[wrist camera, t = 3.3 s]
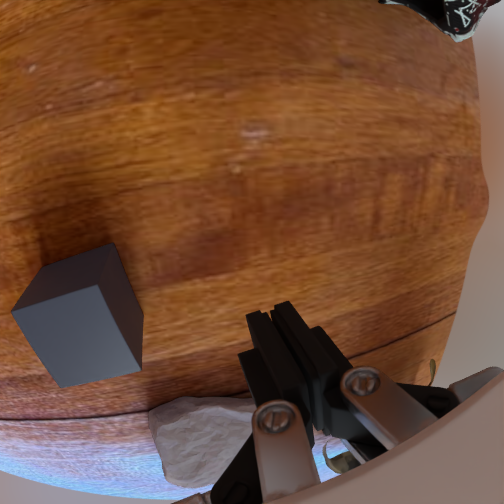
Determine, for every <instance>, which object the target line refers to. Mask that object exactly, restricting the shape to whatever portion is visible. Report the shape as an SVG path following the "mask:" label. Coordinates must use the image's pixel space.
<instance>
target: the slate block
mask: <svg viewBox="0 0 504 504" xmlns="http://www.w3.org/2000/svg"><path fill="white" fill-rule="evenodd" d="M11 313H12V315H13V317H14V319H15V320H16V322H17V324H18V325H19V327H20V329H21V331H22V332H23V334H24V336H25V337H26V339H27V340H28V342H29V344H30V345H31V347H32V348H33V350H34V351H35V353H36V354H37V356H38V357H39V359H40V360H41V362H42V363H43V365H44V366H45V368H46V369H47V370H48V372H49V373H50V375H51V376H52V377H53V379H54V380H55V381H56V383H57V384H58V385H59V387H60V388H64V387H69V386H75V385H80V384H85V383H89V382H94V381H99V380H104V379H108V378H112V377H117V376H121V375H125V374H130V373H134V372H138V371H141V370H142V340H143V318H144V315H143V313H142V311H141V309H140V306H139V304H138V302H137V299H136V297H135V295H134V292H133V290H132V288H131V285H130V283H129V281H128V278H127V276H126V273H125V271H124V268H123V266H122V263H121V261H120V258H119V255H118V253H117V250H116V247H115V245H114V243H111V244H108V245H105V246H102V247H99V248H96V249H93V250H90V251H87V252H84V253H81V254H78V255H75V256H72V257H69V258H66V259H64V260H61V261H58V262H55V263H52V264H49V265H47V266H44V267H42V268H41V269H40V270H39V272H38V273H37V275H36V276H35V277H34V279H33V280H32V281H31V283H30V284H29V286H28V287H27V288H26V290H25V291H24V293H23V294H22V296H21V297H20V299H19V300H18V301H17V303H16V304H15V306H14V307H13V309H12V310H11Z"/></svg>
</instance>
